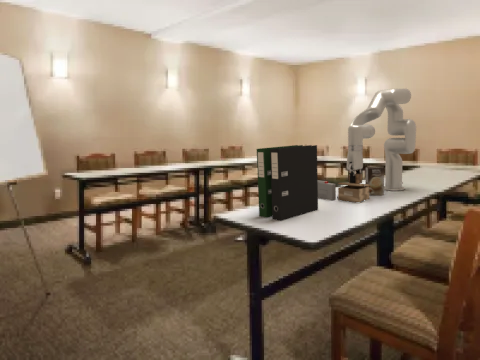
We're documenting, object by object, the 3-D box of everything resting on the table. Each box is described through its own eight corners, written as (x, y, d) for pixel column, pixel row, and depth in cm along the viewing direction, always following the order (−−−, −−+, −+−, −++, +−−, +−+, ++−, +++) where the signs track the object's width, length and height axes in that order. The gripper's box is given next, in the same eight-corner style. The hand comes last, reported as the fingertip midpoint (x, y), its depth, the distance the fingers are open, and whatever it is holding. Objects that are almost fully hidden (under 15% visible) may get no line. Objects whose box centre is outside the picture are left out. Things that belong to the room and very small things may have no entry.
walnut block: (353, 182, 197) (353, 173, 196) (362, 183, 193) (362, 173, 193) (348, 183, 193) (349, 174, 193) (357, 184, 190) (357, 174, 189)
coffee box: (367, 195, 204) (367, 168, 202) (364, 193, 210) (365, 166, 208) (384, 195, 203) (384, 167, 201) (381, 193, 209) (381, 166, 207)
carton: (349, 196, 204) (349, 184, 203) (369, 198, 195) (369, 186, 194) (338, 200, 196) (338, 187, 195) (358, 202, 187) (358, 189, 186)
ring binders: (297, 206, 186) (296, 145, 182) (320, 210, 175) (319, 145, 170) (259, 216, 169) (256, 148, 165) (281, 221, 158) (279, 149, 153)
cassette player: (335, 199, 198) (335, 182, 196) (332, 200, 196) (332, 182, 195) (315, 196, 211) (315, 179, 209) (312, 196, 209) (311, 180, 208)
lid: (348, 184, 203) (349, 182, 203) (369, 185, 194) (369, 184, 194) (338, 184, 195) (338, 182, 195) (359, 185, 186) (359, 184, 186)
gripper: (356, 147, 199) (356, 179, 202) (340, 149, 188) (341, 183, 190) (369, 147, 194) (369, 180, 197) (354, 149, 182) (354, 184, 185)
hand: (355, 181), depth 193 cm, fingers open, 5 cm apart
